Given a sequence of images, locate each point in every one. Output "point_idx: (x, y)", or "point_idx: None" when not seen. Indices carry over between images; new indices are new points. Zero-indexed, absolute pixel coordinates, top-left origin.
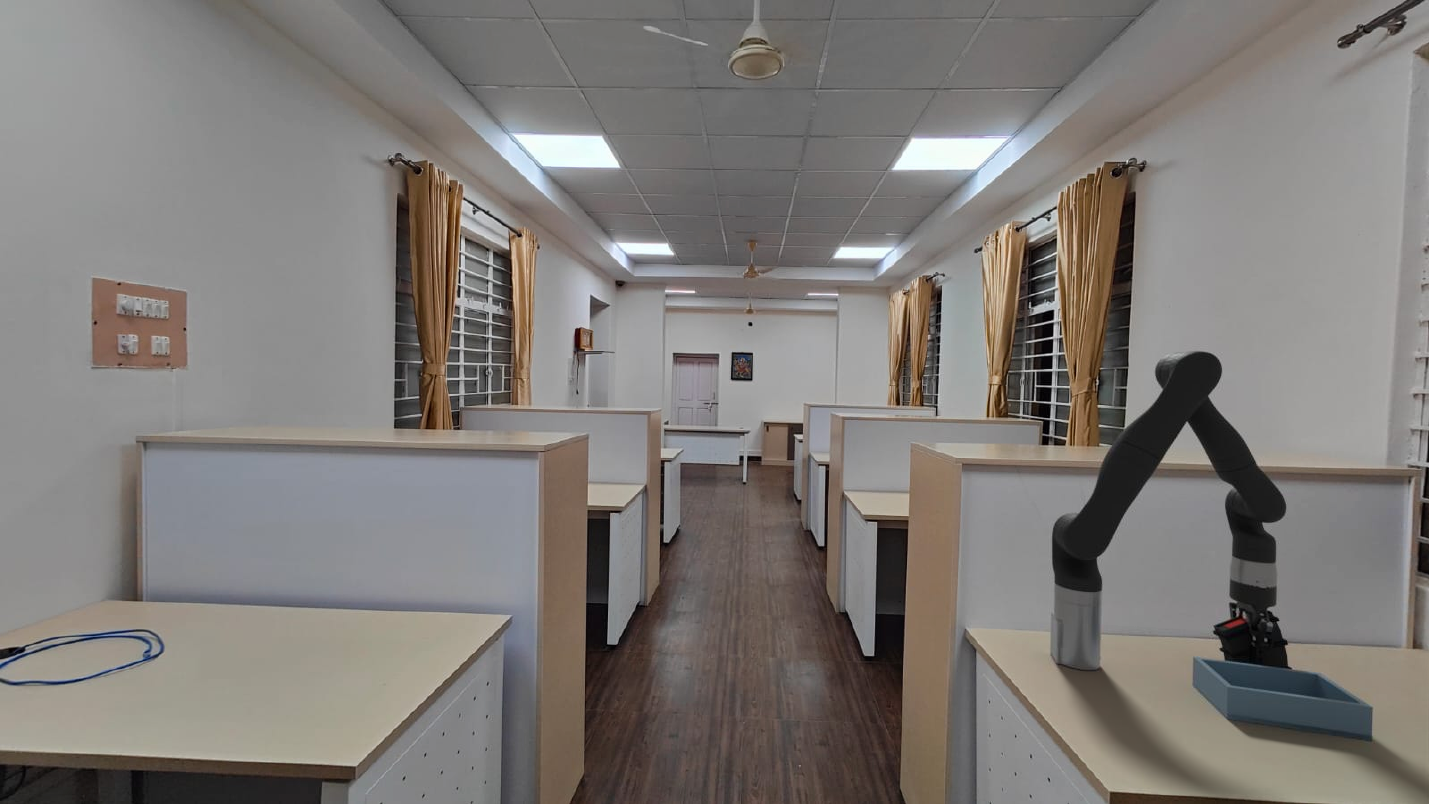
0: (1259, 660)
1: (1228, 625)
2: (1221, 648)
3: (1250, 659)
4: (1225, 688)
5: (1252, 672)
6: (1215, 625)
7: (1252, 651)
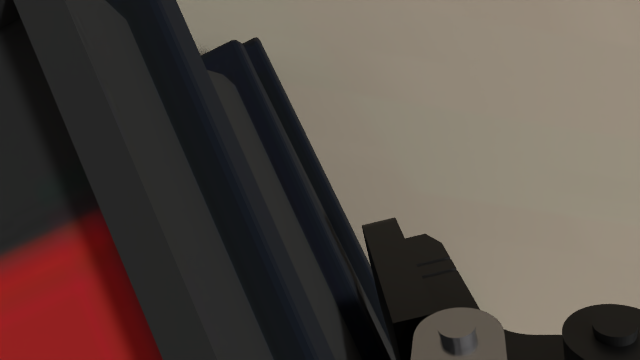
0: None
1: (45, 308)
2: (219, 61)
3: None
4: None
5: None
6: (34, 2)
7: None
